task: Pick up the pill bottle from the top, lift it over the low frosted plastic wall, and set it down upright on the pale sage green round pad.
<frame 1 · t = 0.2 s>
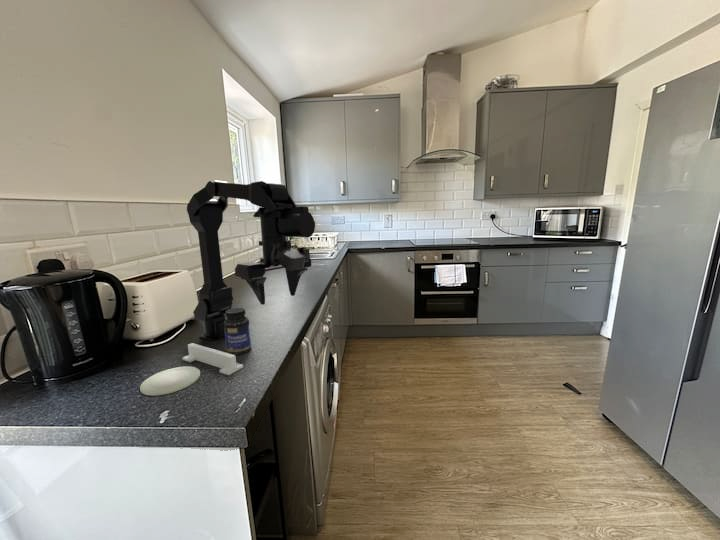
hand: (278, 299, 74), 14 cm above the countertop, tool pointing down, fingers open, 9 cm apart
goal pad: (171, 380, 64), on the countertop
pill bottle: (239, 350, 79), on the countertop
low wall: (212, 363, 72), on the countertop
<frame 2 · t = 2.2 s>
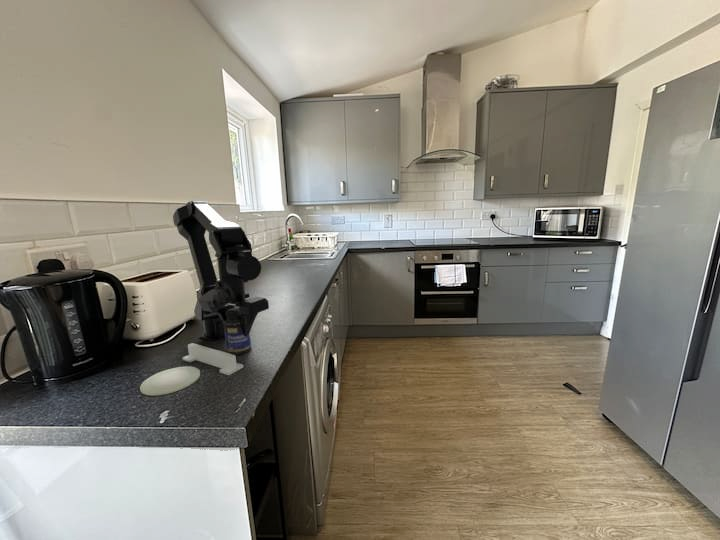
hand: (237, 333, 78), 5 cm above the countertop, tool pointing down, fingers closed on pill bottle, 6 cm apart
pill bottle: (239, 350, 79), on the countertop, touching gripper
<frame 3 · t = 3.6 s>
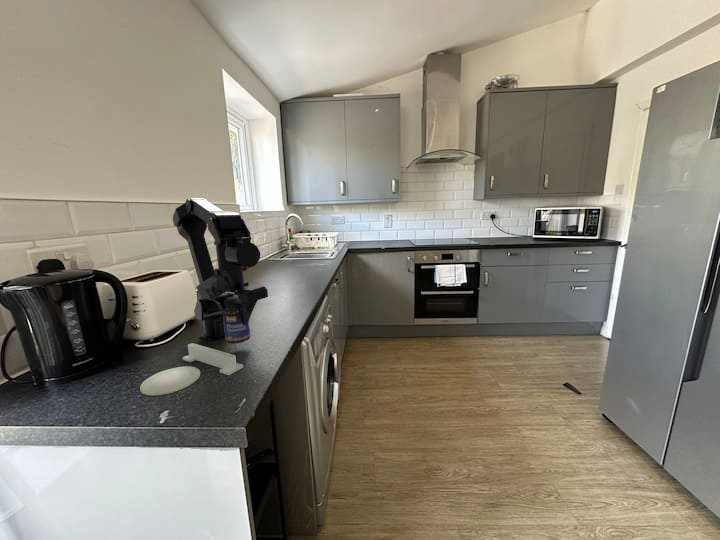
hand: (236, 322, 77), 8 cm above the countertop, tool pointing down, fingers closed on pill bottle, 6 cm apart
pill bottle: (238, 340, 78), point 3 cm above the countertop, touching gripper
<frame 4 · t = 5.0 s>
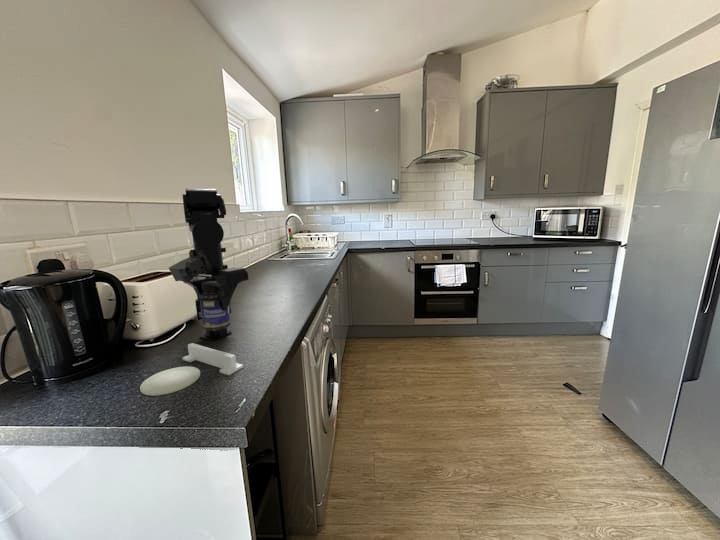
hand: (215, 309, 72), 13 cm above the countertop, tool pointing down, fingers closed on pill bottle, 6 cm apart
pill bottle: (217, 327, 73), point 8 cm above the countertop, touching gripper
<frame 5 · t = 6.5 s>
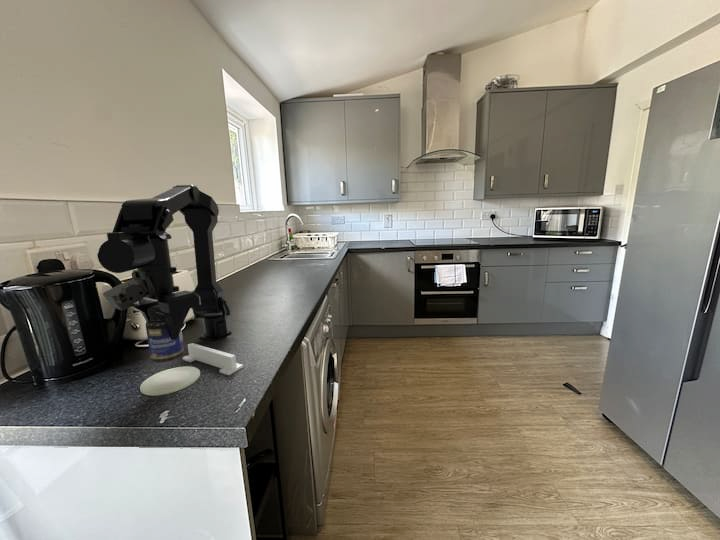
hand: (165, 336, 63), 10 cm above the countertop, tool pointing down, fingers closed on pill bottle, 6 cm apart
pill bottle: (168, 357, 64), point 5 cm above the countertop, touching gripper
when the fingers open (6 cm above the countertop, at t = 7.7 s): pill bottle drops 1 cm, resting on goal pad.
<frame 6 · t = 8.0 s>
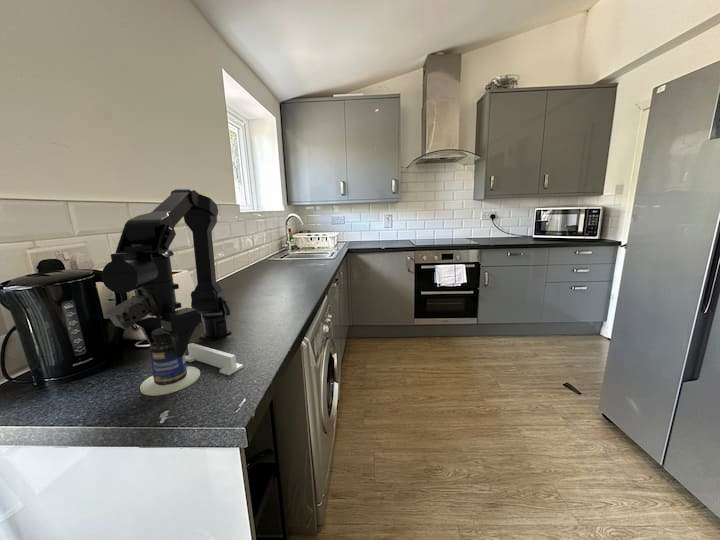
hand: (167, 352, 63), 6 cm above the countertop, tool pointing down, fingers open, 9 cm apart
pill bottle: (171, 379, 64), resting on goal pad
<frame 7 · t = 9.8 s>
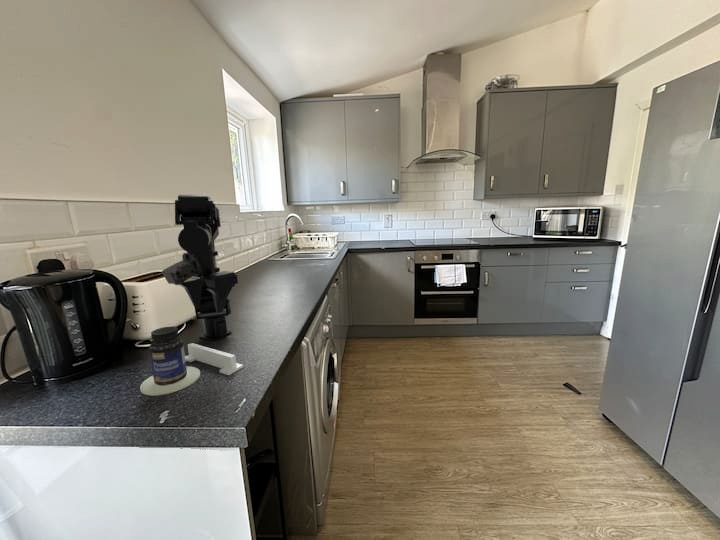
hand: (207, 309, 75), 12 cm above the countertop, tool pointing down, fingers open, 9 cm apart
nothing on the countertop moved.
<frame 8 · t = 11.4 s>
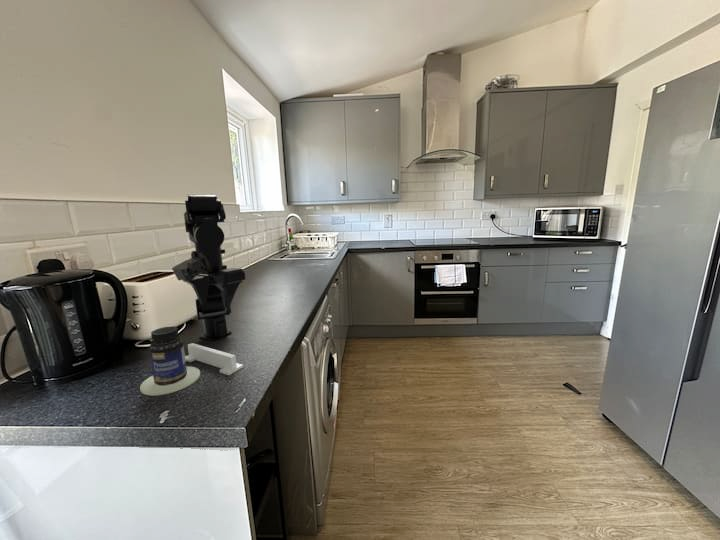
hand: (215, 306, 77), 12 cm above the countertop, tool pointing down, fingers open, 9 cm apart
nothing on the countertop moved.
at the end: pill bottle 0.1 cm from the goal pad (horizontally); pill bottle tilted 0°; the gripper is holding nothing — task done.
